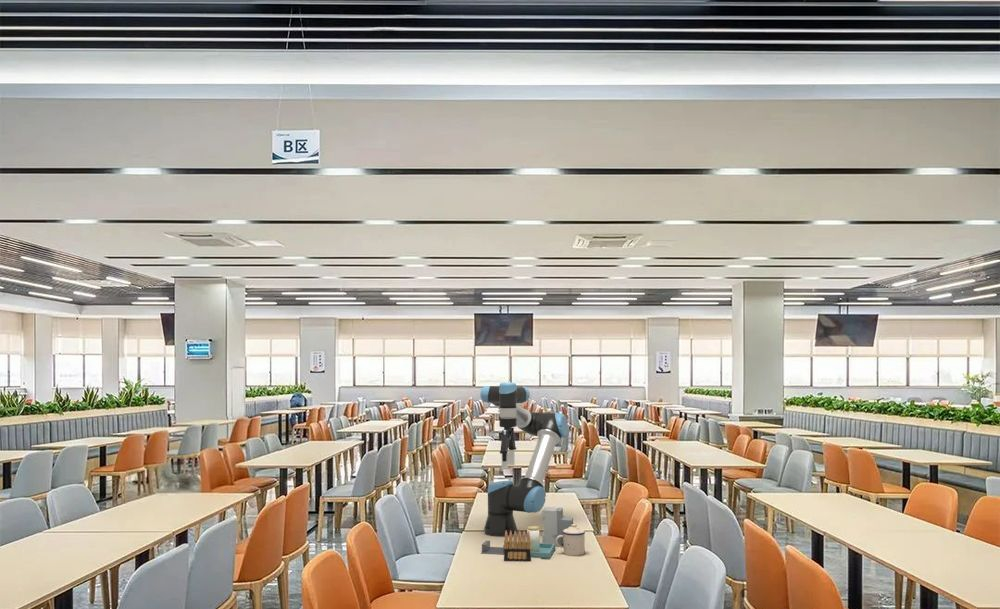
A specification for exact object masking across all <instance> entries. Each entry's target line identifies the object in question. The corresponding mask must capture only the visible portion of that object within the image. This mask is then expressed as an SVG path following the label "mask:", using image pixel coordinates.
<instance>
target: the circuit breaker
mask: <svg viewBox="0 0 1000 609" xmlns="http://www.w3.org/2000/svg"><path fill="white" fill-rule="evenodd" d="M541 512H542V513H541V521H542V522H543V533H542V534H541V543H545V544H555V548H560V547H559V546H558V545H557V543H556V538H557V536H559V535H563V530H564V529H567V528H569V527H571V525H572V524H574V517H573V516H564V507H555V506H554V507H550V506H544V508H542V509H541ZM576 527H578V526H577V524H576ZM558 544H559V545H561V546H563V545H564V541H563V537H560V538H558Z"/></svg>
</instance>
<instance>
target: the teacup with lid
mask: <svg viewBox="0 0 1000 609" xmlns="http://www.w3.org/2000/svg"><path fill="white" fill-rule="evenodd" d="M576 525H577V524H576V523H573V524H572V525H571V527H569V528H567V529H564V530H563V535H559V536H557V538H556V543H557V545H558V546H559V547H558V548H561V549H563V554H565V555H567V556H571V557H572V556H574V557H575V556H577V557H578V556H584V554H585V553H586V551H585V550H586V549H585V544H586V543H585V542H586V538H585V534H586V531H585V530H584V529H582V528H580V527H579V526H576ZM560 537H563V545H562V546H561V545H559V544H558V538H560Z"/></svg>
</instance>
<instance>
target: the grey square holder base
mask: <svg viewBox="0 0 1000 609" xmlns="http://www.w3.org/2000/svg"><path fill="white" fill-rule="evenodd" d="M502 546H503V547H501V546H500V547H499V546H491V540H485V541H484V542H483V543H482V544H481V553H480V554H481V555H496V556H498V555H499V556H501V555H502V556H504V544H503V545H502ZM508 548H509V541H508ZM508 554H509V552H508Z"/></svg>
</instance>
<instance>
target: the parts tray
mask: <svg viewBox="0 0 1000 609" xmlns="http://www.w3.org/2000/svg"><path fill="white" fill-rule="evenodd" d="M517 548H518V542H517ZM555 551H556V547H555V544H545V543H542V542H540V549H539V552H531V559H532V558H533V559H536V558H537V559H541V560H550V559H552V556H553V554H554V552H555ZM517 555H518V552H517Z"/></svg>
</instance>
